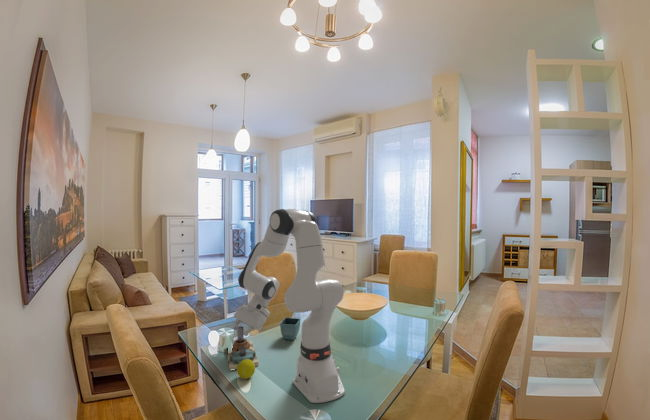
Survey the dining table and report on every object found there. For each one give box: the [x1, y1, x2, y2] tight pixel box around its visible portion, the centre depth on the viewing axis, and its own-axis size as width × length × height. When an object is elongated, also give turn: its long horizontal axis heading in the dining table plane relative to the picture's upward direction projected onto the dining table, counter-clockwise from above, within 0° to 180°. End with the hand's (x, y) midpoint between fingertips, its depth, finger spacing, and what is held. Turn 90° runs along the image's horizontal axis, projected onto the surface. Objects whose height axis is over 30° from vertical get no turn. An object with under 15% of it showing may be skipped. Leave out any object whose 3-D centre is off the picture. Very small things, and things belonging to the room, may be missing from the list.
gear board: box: [227, 337, 259, 370], centre depth 135 cm, size 22×12×6 cm, turn 22°
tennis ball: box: [236, 359, 256, 380], centre depth 119 cm, size 7×7×7 cm
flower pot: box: [279, 317, 301, 341], centre depth 154 cm, size 9×9×9 cm
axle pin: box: [236, 326, 245, 343], centre depth 140 cm, size 3×3×10 cm
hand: (239, 332), depth 140 cm, fingers open, 8 cm apart
